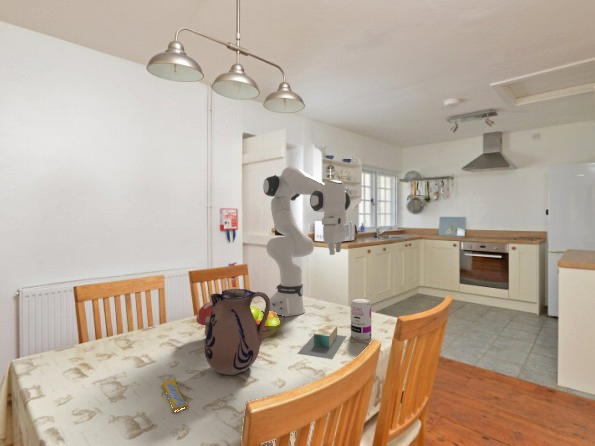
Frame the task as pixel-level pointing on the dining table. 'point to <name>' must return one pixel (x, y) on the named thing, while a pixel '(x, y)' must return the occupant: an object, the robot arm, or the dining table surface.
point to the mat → (322, 348)
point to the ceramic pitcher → (234, 331)
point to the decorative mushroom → (204, 315)
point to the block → (325, 336)
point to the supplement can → (361, 319)
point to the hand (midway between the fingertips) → (335, 253)
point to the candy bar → (174, 394)
